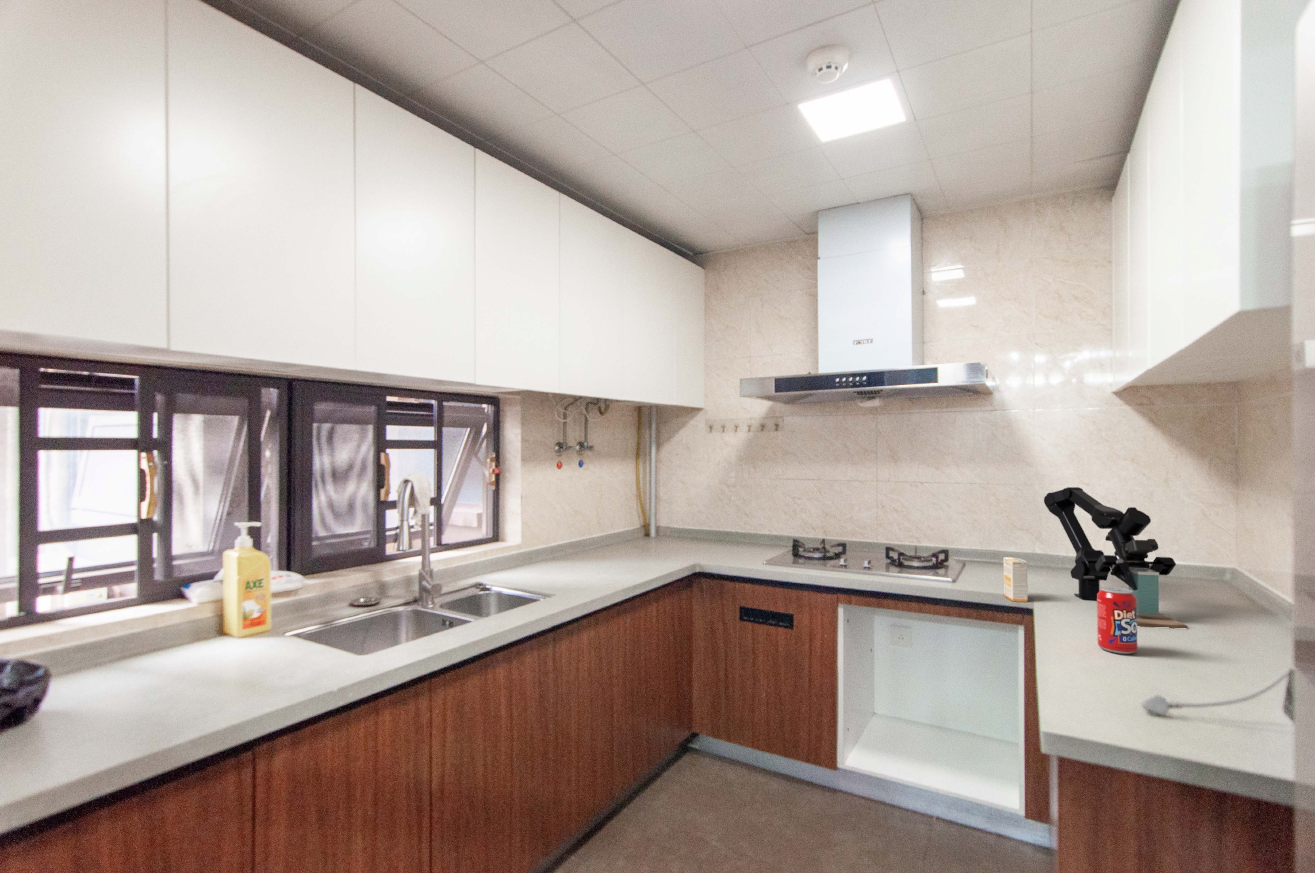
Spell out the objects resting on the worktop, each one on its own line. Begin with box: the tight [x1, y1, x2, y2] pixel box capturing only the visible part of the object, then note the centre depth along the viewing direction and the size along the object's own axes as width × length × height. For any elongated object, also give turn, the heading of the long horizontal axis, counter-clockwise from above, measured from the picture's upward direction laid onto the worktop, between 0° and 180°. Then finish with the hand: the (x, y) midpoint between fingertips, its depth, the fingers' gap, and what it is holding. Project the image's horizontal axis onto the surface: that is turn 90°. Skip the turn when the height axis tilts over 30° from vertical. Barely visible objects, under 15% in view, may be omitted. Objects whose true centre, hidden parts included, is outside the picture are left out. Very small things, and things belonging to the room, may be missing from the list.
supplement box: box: [1002, 556, 1029, 603], centre depth 203 cm, size 8×5×13 cm, turn 168°
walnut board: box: [1137, 612, 1188, 629], centre depth 178 cm, size 14×14×2 cm
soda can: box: [1096, 586, 1138, 655], centre depth 152 cm, size 8×8×15 cm
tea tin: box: [1128, 568, 1160, 615], centre depth 178 cm, size 5×5×12 cm
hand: (1146, 589), depth 176 cm, fingers closed on tea tin, 5 cm apart
